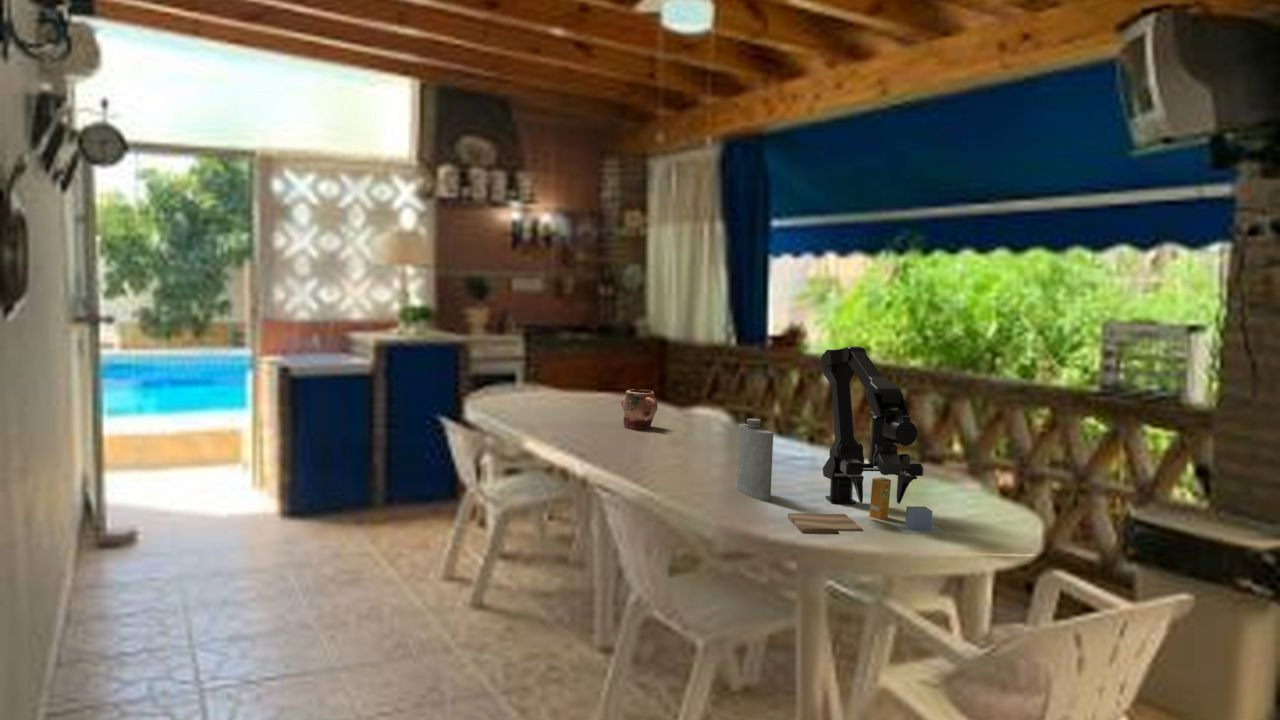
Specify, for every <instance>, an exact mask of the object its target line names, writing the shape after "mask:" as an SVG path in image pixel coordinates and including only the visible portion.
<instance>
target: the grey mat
mask: <svg viewBox="0 0 1280 720" xmlns="http://www.w3.org/2000/svg"><path fill="white" fill-rule="evenodd" d="M889 523H890V524H892V525H893V526H894V527H895V528H896V529H898V530H899V531H900V532H901V533H903V534H906V535H907V534H909V535H910V534H913V535H916V534H917V535H918V534H919V535H921V534H922V535H923V534H924V535H948V533H947V532H946V531H944V530H943V529H942V528H940V527H939V526H937V525H935V524H934V523H933V522H932V527H931V531H927V530H911V529H910V528H908V527H907V526H906V525H905V524H906V521H905V522H904V521H903V522H901V521H900V522H897V521H896V522H894V521H892V522H891V521H890V522H889Z"/></svg>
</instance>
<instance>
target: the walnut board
mask: <svg viewBox="0 0 1280 720" xmlns="http://www.w3.org/2000/svg"><path fill="white" fill-rule="evenodd" d="M787 518H788V520H789V521H791V523H792V524H793V525H794V526H795V527H796V528H797V529H798V531H800V533H802V534H804V533H805V534H809V533H810V534H811V533H812V534H840V533H839V532H841V531H842V532H845V531H846V532H863V528H862V527H861V526H860V525H859V524H857V522H856V521H854V520H853V519H852V518H851V517H849V516H848V514H846V513H793V512H792V513H789V512H788V513H787Z"/></svg>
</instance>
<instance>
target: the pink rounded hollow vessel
mask: <svg viewBox="0 0 1280 720" xmlns="http://www.w3.org/2000/svg"><path fill="white" fill-rule="evenodd" d="M624 394H625V395H624V397H623V398H622V400H621V401H620V406H621V408H622V409H623V412H624V413H623V425H624V428H627V429H630V430H645V429H649V428H651V427H652V422H653V420H654V418H655V415H656V413H657V411H658V408H659V407H658V401H657V399H656V397H655V393H654V391H653V390H651V389H638V388H637V389H636V388H635V389H634V388H633V389H629V390H626V391H625V393H624Z"/></svg>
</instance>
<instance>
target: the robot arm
mask: <svg viewBox="0 0 1280 720" xmlns="http://www.w3.org/2000/svg"><path fill="white" fill-rule="evenodd" d="M820 363H821V366H822V372H823V375H824V377H825V378H826V380H827V381H828V383H829V384H830V390H831V391H830V393H831V404H832V405H831V406H832V415H833V416H832V417H833V429H834V431H833V432H834V441H833V442H832V445H831V446H830V448H829V458H828V459H827V461H826V462H825V464H824V465H823V467H822V476H823V477H825V478H827V479H829V480H830V483H829V484H830V485H829V486H830V487H829V495H825V499H826V500H828V501H829V502H830V503H831V504H857V500H856V499H854V498H853V489H855V492H856V495H857V499H858V502H859V503H860V504H863V501H864V487H863V486H864V484H863V482H864V478H865V477H864V476H863V472H879V473H880V475H883V476H890V475H891V476H897V482H896V483H897V484H896V485H897V487H896V503H897V504H898V505H900V504H901V502H902V500H903V498H904V495H905V492H906V491H907V488H908V487H909V485H910V483H911V482H913V480H918V478H919V477H923V476H924V466H923V464H922V463H920V462H919V461H917V460H916V459H915V460H911V456H910V454H909V453H901V454H898V447H897V445H900V446H904V447H909V446H911V445H912V444H913V443H915V442H916V440H917V437H918V433H919V432H918V429H917V427H916V425H915V424H914V423H913V422H912V421H911V416H910V413H909V408H908V405H907V404H906V400H905V398H904V395H903V392H902V390H901V389H900V387H899V386H897V384H895V383H894V382H893V381H891V380H889V379H886V378H884V376H883V375H882V373H880V371H879V370H878V368H877V367H876V366H875V364H874V363H873V362H872V360H871V359H870V357H869V356H868V355H867V351H866V349H865V348H864V347H862V346H846V347H843V348H839V349H826V350H825V351H824V353H822V355H821V358H820ZM854 375H856V377H857V378H858V380H859V381H860V383H861V384H862V385H863V387H864V389H865V391H866V394H865V400H866V402H867V403H868V405H869V407H870V409H871V411H870V412H869V413H868V414H867V416H868V418H870V419H871V430H870V440H869V442H868V443H869V444H868V445H869V446H870V450H869V457H868V463H866V462H865V457H864V446H863V445H862V444H861V443H858V441H857V439H855V431H854V419H853V407H852V405H853V403H852V391H851V381H852V379H853V377H854Z"/></svg>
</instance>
